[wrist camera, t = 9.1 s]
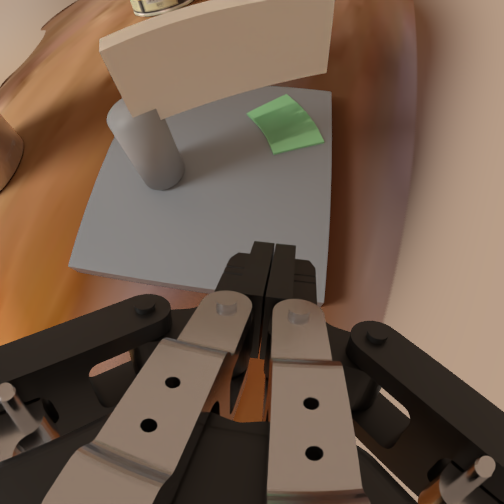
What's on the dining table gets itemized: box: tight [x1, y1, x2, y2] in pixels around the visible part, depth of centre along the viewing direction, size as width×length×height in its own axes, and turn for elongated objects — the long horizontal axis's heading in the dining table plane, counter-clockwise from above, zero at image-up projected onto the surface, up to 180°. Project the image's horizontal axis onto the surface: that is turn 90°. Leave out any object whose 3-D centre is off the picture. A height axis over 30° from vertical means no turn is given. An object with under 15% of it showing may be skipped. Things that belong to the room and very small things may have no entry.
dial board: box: [68, 86, 332, 307], centre depth 23 cm, size 18×18×2 cm
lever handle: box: [99, 0, 335, 190], centre depth 17 cm, size 14×3×12 cm, turn 110°
